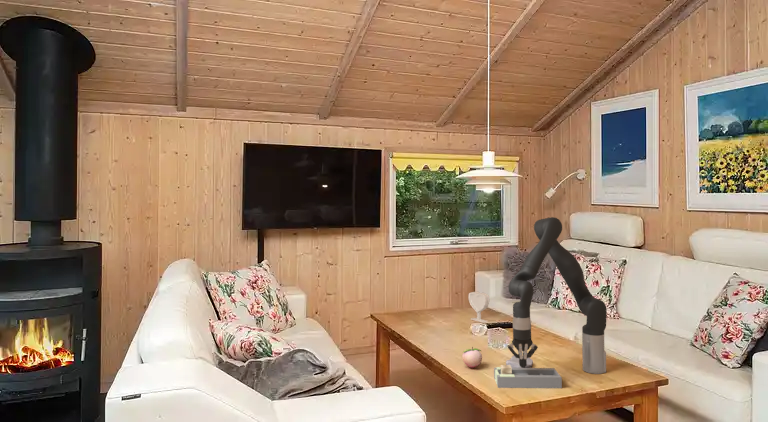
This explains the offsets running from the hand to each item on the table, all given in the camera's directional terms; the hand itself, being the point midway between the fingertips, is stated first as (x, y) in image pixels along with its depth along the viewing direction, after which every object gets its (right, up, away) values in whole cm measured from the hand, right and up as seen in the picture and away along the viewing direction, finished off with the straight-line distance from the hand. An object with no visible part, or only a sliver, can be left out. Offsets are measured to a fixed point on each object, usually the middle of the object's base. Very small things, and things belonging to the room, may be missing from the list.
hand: (522, 367), depth 215 cm
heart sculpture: (+2, -4, +111) cm, 111 cm away
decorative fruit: (-18, -7, +20) cm, 28 cm away
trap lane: (+2, -7, 0) cm, 7 cm away
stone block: (+5, -7, +21) cm, 23 cm away
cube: (-7, -4, +1) cm, 8 cm away
